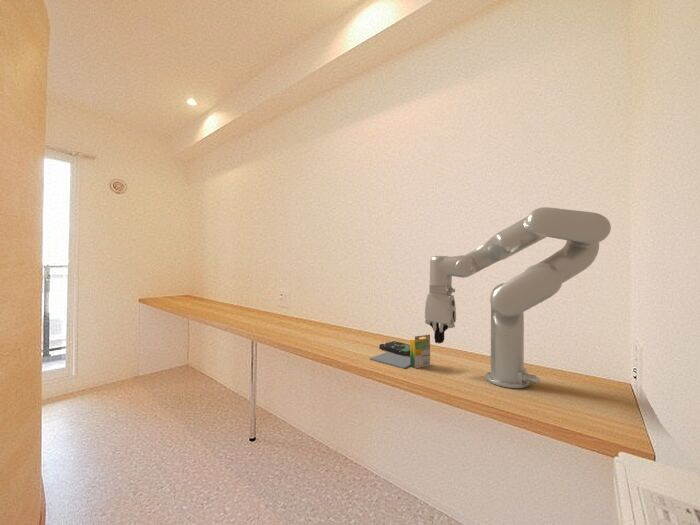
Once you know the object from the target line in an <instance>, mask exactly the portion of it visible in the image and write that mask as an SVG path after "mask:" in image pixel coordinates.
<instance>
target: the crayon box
mask: <svg viewBox="0 0 700 525" xmlns="http://www.w3.org/2000/svg"><path fill="white" fill-rule="evenodd" d="M409 345H410V356H409V357H410V367H411V368H413V369H418V368H423V367H430V366H431V334H425V335H423V334H422V335H416V336H414V339H410V341H409Z"/></svg>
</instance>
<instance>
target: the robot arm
mask: <svg viewBox="0 0 700 525" xmlns="http://www.w3.org/2000/svg"><path fill="white" fill-rule="evenodd" d="M611 230H612V227H611V223H610V221H609V219H608V218H607V217H606V216H605V215H603V214H600V213H598V212H593V211H592V212H591V211H584V210H576V209H565V208H557V207H549V206H548V207H547V206H545V207H544V206H543V207H538V208H535V209H534V210H533V211H530V213H529V214H528V215H527V216H526V217H524V218H522V219H520V220H518V221H516V222H515V223H513V224H511V225H510V226H508V227H506V228H504V229H502V230H501V231H498V232H497V233H495V234H494V235H493V236H491V237H490V238H489V239H488V240H487V241H486V242H485V243H483V244H482V245H480V246H478V247H477V248H475V249H474V250H472V251H470V252H468V253H466V254H465V255H463V254H462V255H455V256H448V255H434V256H431V258H430V259H429V290H428V291H429V292H428V293H427V296H426V300H425V306H424V307H425V308H424V319H425V321H424V322H425V325H429V326H430V327H431V329H432V330H433V331H434V336H433V337H434V343H436V344H439V345H440V344H443V343H444V341H445V332H446V331H447V330H448V329H454V328H455V327H456V325H455V323H456V322H457V307H456V306H457V305H456V301H455V300H456V299H455V296H454V295H452V294H453V293H455V292H456V288H453V285H452V284H453V280H452V279H453V278H452V277H457V278H468V277H472V276H473V275H474V274H477V273H479V272H480V271H483V270H484V269H486V268H489V267H490V266H492V265H493V264H496V263H497V262H500V261H503V260H506V259H508V258H509V257H511V256H513V255H515V254H517V253H519V252H521V251H523V250H524V249H527V248H529V247H531V246H533V245H534V244H536V243H538V242H540V241H542V240H544V239H546V238H547V237H548V238H552V239H557V240H564V241H566V243H565V244H564V246H563V247H562V248H561V249H559V250H558V251H556V252H554V253H553V254H551V255H550V256H548V257H547V258H545V259H543V260H541V261H539V262H538V263H536V264H534V265H531V266H529V267H527V269H525V270H524V271H522V273H519V274H518V275H516V276H514V277H513V278H511V279H509V280H507V281H506V282H504V283H500V284H497V285H496V286H495V287H494V288H493V289H492V291H491V293H490V298H489V302H490V371H488V372H486V373H485V380H486V381H487V382H489V383H490V384H494V386H495V385H496V386H498V387H503V388H508V389H524V388H528V387H529V386H530V383H533V384H537V385H539V384H540V381H541V380H540V377H539V376H537V375H536V374H531V373H529V372H528V371H527V368H525V367H524V366H525V365H524V364H525V363H524V361H525V359H524V357H525V355H524V354H525V352H524V349H525V348H524V346H525V338H524V337H525V336H524V335H525V334H524V333H525V320H524V319H525V317H524V316H525V315H524V312H526V311H528V310H530V309H532V308H534V307H536V306H537V305H539V304H541V303H542V302H544V301H547V300H549V298H551V297H553V296H554V295H556V294H557V293H558V291H560V290H561V287H562V284H564V283H565V282H567V281H569V280H570V279H572V278H574V277H575V276H577V275H578V274H580V273H582V272H583V271H585V270H586V269H588V268H589V267H590V266H591V265H592V264H593V263H594V262H595V260H596V258H597V256H598V253H599V250H600V243H601V242H603V241H605V240H606V239H607V237H608V236H609V235H610V233H611Z"/></svg>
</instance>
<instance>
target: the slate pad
mask: <svg viewBox="0 0 700 525" xmlns="http://www.w3.org/2000/svg"><path fill="white" fill-rule="evenodd" d="M369 360H370V361H373V362H378V363H380V364H384V365H388V366H392V367H396V368H399V369H404V370H405V369H407V368H410V367H411V366H410V356H402V355H398V354H394V353H391V352H387V351H385V352H383V353H380V354H377V355H375V356H371V357H369Z"/></svg>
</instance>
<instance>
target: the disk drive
mask: <svg viewBox="0 0 700 525" xmlns="http://www.w3.org/2000/svg"><path fill="white" fill-rule="evenodd" d="M378 348H379V350H380V349H381V351H385V352H389V353H393V354H398V355H402V356H406V357H410V344H407V343H403V342H400V341H395V340H393V341H388V342H385V343H380V344H379V347H378Z"/></svg>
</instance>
